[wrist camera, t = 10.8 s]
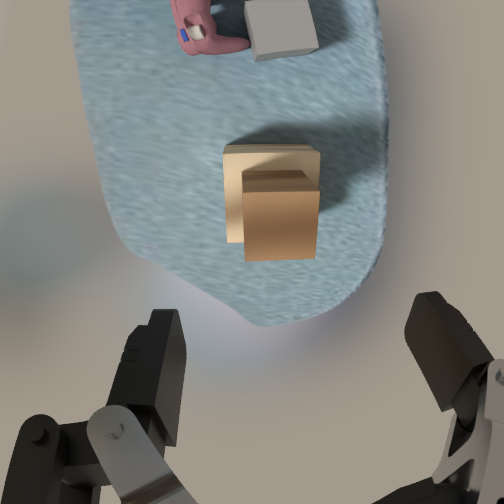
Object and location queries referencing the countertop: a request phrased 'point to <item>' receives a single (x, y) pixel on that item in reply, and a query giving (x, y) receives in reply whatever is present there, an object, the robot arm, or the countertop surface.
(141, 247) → the countertop surface
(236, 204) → the birch block
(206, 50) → the video game controller
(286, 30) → the grey cube
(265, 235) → the walnut block
